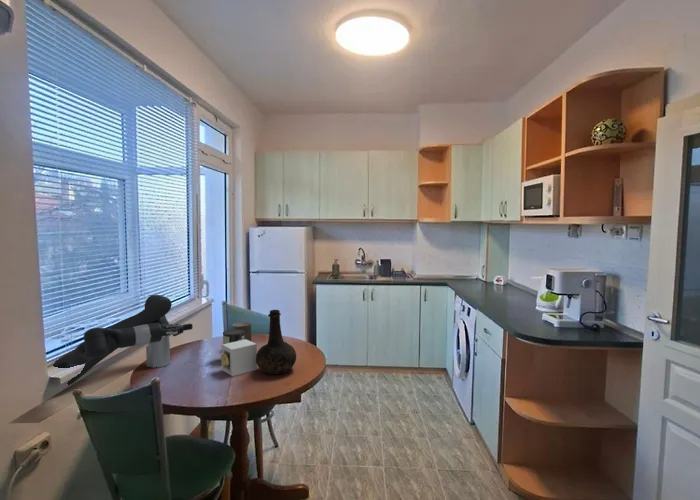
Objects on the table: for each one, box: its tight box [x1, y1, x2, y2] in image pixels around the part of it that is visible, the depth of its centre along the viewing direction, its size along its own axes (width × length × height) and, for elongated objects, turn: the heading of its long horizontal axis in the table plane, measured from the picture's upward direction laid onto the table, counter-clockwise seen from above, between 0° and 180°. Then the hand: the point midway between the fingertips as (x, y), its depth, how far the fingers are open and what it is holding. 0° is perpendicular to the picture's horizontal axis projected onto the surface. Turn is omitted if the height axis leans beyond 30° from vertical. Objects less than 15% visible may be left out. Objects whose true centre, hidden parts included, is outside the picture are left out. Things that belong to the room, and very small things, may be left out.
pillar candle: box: [232, 321, 252, 342], centre depth 207 cm, size 10×10×15 cm
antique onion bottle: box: [256, 309, 297, 375], centre depth 174 cm, size 18×18×28 cm
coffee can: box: [222, 328, 245, 344], centre depth 190 cm, size 10×10×14 cm
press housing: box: [221, 339, 258, 377], centre depth 176 cm, size 12×10×12 cm
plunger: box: [220, 353, 230, 368], centre depth 175 cm, size 12×6×6 cm, turn 133°
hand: (191, 326), depth 161 cm, fingers closed
